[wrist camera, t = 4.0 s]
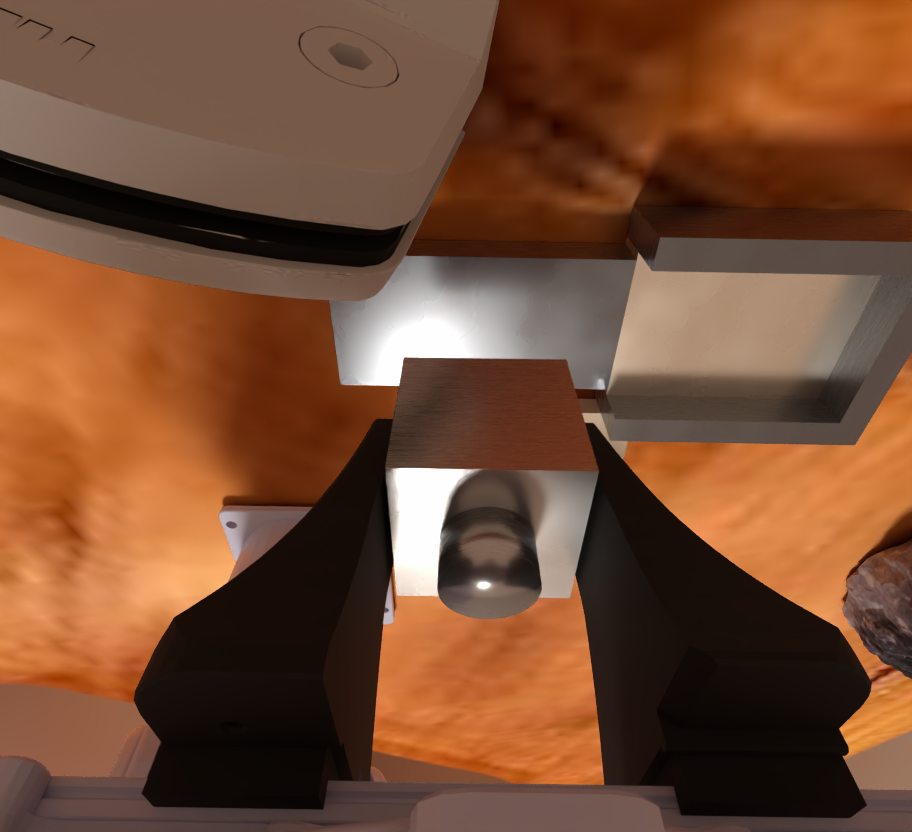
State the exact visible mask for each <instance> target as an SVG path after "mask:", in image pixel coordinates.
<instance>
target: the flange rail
mask: <svg viewBox="0 0 912 832" xmlns="http://www.w3.org/2000/svg"><path fill="white" fill-rule="evenodd" d="M329 304H330V311H331V319H332V326H333V333H334V341H335V348H336V355H337V362H338V370H339V377H340V384H341V385H383V386H399V382H400V376H401V371H402V365H403V359H404V357H423V358H495V359H566V360H567V363H568V366H569V370H570V373H571V377H572V380H573V384H574V387H575V389H595V392H594V395H595V398H596V401H597V404H598V407H599V410H600V413H601V416H602V419H603V422H604V424H605V427H606V430H607V433H608V436H609V439H610V441H647V442H705V443H762V444H819V445H855V444H856V442H857V441H858V439H859V437H860V436H861V434H862V433H863V431H864V429H865V428H866V426H867V424H868V423H869V421H870V419H871V418H872V416H873V414H874V413H875V411H876V410H877V408H878V406H879V405H880V403H881V401H882V400H883V398H884V396H885V395H886V393H887V391H888V390H889V388H890V387H891V385H892V383H893V382H894V380H895V378H896V377H897V375H898V373H899V372H900V370H901V368H902V367H903V365H904V364H905V362H906V360H907V359H908V357H909V355H910V354H911V352H912V212H909V211H887V210H835V209H782V208H730V207H677V206H633V210H632V215H631V220H630V224H629V229H628V234H627V239H626V243H573V242H520V241H467V240H414V239H413V240H412V243H411V245H410V247H409V249H408V251H407V253H406V255H405V257H404V258H403V260H402V261H401V263H400V264H399V265H398V267H397V268H396V270H395V271H394V273H393V274H392V276H391V277H390V278H389V280H388V281H387V283H386V284H385V286H384V287H383V289H382V290H381V291H380V292H379V293H378V294H376V295H375V296H373V297H371V298H369V299H365V300H361V301H356V302H353V301H334V300H329Z"/></svg>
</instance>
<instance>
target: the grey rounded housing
mask: <svg viewBox="0 0 912 832" xmlns="http://www.w3.org/2000/svg"><path fill="white" fill-rule="evenodd" d="M499 1H500V0H0V236H1V237H4V238H7V239H10V240H13V241H17V242H20V243H23V244H27V245H30V246H34V247H37V248H41V249H44V250H47V251H51V252H54V253H58V254H61V255H65V256H68V257H71V258H75V259H79V260H83V261H87V262H91V263H95V264H99V265H103V266H108V267H112V268H116V269H120V270H124V271H129V272H133V273H137V274H142V275H147V276H152V277H157V278H161V279H166V280H171V281H176V282H181V283H186V284H191V285H198V286H204V287H211V288H217V289H223V290H230V291H236V292H242V293H250V294H259V295H269V296H279V297H289V298H298V299H314V300H334V301H353V302H356V301H361V300H365V299H369V298H371V297H373V296H375V295H376V294H378V293H379V292H380V291H381V290H382V289H383V287H384V286H385V284H386V283H387V281H388V280H389V278H390V277H391V276H392V274H393V273H394V271H395V270H396V268H397V267H398V265H399V264H400V263H401V261H402V260H403V258H404V257H405V255H406V253H407V251H408V249H409V247H410V245H411V243H412V240H413V238H414V236H415V234H416V232H417V230H418V228H419V226H420V224H421V222H422V220H423V218H424V216H425V214H426V212H427V210H428V208H429V206H430V204H431V202H432V200H433V198H434V196H435V194H436V192H437V190H438V188H439V186H440V184H441V182H442V180H443V178H444V176H445V174H446V172H447V170H448V168H449V166H450V164H451V162H452V160H453V158H454V156H455V154H456V152H457V150H458V148H459V146H460V144H461V142H462V139H463V137H464V135H465V133H466V132H465V131H462V128H463V126H464V124H465V122H466V120H467V118H468V116H469V114H470V112H471V110H472V108H473V107H474V105H475V103H476V101H477V99H478V97H479V95H480V93H481V91H482V88H483V83H484V78H485V72H486V67H487V62H488V57H489V51H490V46H491V41H492V36H493V31H494V25H495V20H496V15H497V11H498V6H499Z"/></svg>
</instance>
